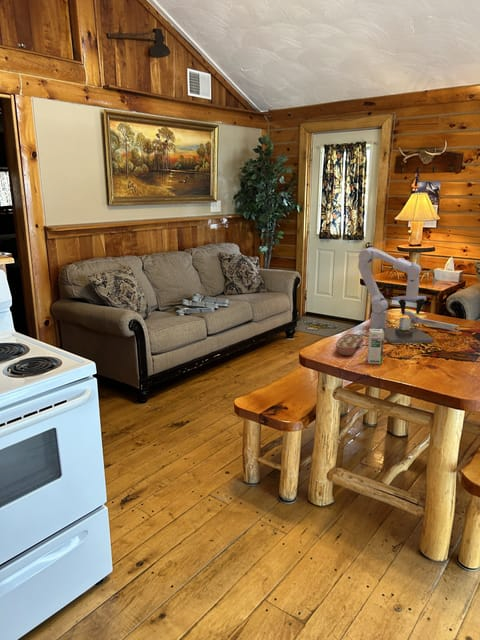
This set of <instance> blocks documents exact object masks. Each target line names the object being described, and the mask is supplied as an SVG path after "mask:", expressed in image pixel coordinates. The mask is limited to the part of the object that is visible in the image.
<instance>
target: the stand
mask: <svg viewBox="0 0 480 640" xmlns="http://www.w3.org/2000/svg"><path fill="white" fill-rule="evenodd" d="M376 329H383V331H384V341H386V342H388V343H389V344H423V343H424V344H431V343H432V344H433V343H435V339H434V338H432V337H431V336H430V335H428V334H427V333H426V332H424V331H422V330H421V329H419V328H418V327H415V326H410V330H401V329H399V327H386V328H376Z"/></svg>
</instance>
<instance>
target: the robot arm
mask: <svg viewBox="0 0 480 640" xmlns="http://www.w3.org/2000/svg"><path fill="white" fill-rule="evenodd" d="M378 259H379V260H382V261H384V262H387V263H389V264H392V265H393V268H394V269H397V270H399V271H400V272H403V273H404V274H407V281H406V282H407V283H406V291H405V292H406V293H405V295H400V296H399V295H397V296H396V300H397V301H398V304H399V307H400V310H401V315H402V314H404V313H405V311H406V305H407V302H406V301H416V308H415V309H416V310H415V313H416V314H415V315H420V313H421V310H422V308H423V306H424V304H425V302H426V301H427V295H419V289H420V274H421V272H422V267H421V265H419V264H418V263H414V261H411V262H410V261H408V260H406V259H405V258H404V257H398V258H395V257H394V256H392V255H390V254H388V253H387V252H386V253H385V252H384V251H383V250H380V249H379V248H375V247H372V246H369V247H367V248H363V249H362V250H361V251H360V252H359V254H358V263H357V264H358V265H357V268H358V270H359V273H360V275H361V277H362V279H363V282H364V284H365V286H366V289H367V291H368V293H369V296H370V303H371V311H372V312H371V314H370V318H369V319H370V320H369V322H370V324H368V327H369V329H376V328H387V313H388V312H387V309H388V308H389V302H388V300H387V299H385V297H384V295H383V294H382V293H381V291H380V290H379V287H378V285H377V282H376V280H375V278H374V276H373V273H372V271H371V269H370V266H371V263H372V261H373V260H378Z"/></svg>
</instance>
